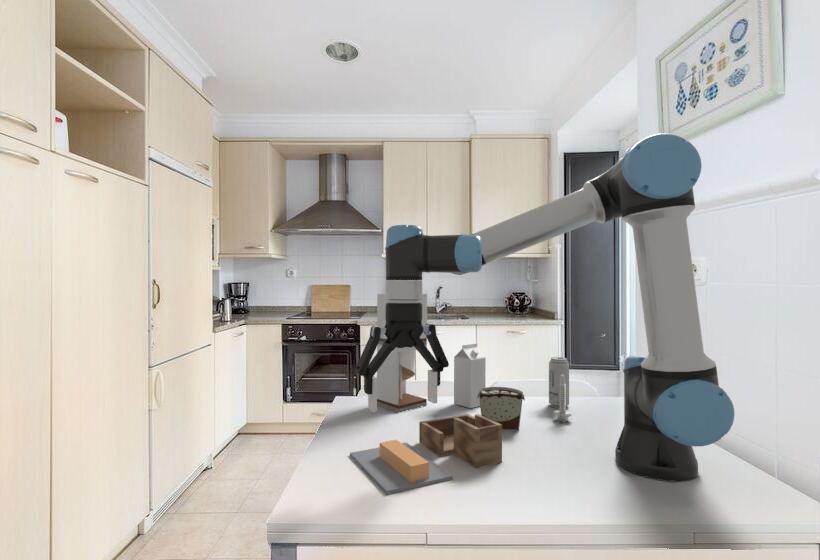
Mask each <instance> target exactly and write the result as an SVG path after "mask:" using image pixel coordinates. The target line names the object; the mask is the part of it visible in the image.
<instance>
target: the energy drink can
mask: <svg viewBox="0 0 820 560" xmlns="http://www.w3.org/2000/svg"><path fill="white" fill-rule="evenodd" d="M562 374H563V375H565V384H566V407H567V408H568V406H569V405H570V363H569V361H568V358H566V357H563V356H554V357H553V356H552V357H550V360H549V362H548V403H549V404H550V407H552V408H554V407H556V408H555V409H560V402H559V401H560V400H559V399H560V398H559V397H560V396H559V395H560V377H561V375H562Z"/></svg>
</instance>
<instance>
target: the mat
mask: <svg viewBox="0 0 820 560" xmlns="http://www.w3.org/2000/svg"><path fill="white" fill-rule="evenodd" d="M401 443H402V442H401ZM402 444H403V445H405V446H406V447H408V448H409V449H410V450H412V451H413V452H415V453H416V454H418V455H419V456H421V457H422V458H424V459H425V460H427V461H428V462H429V478H427V479H423V480H419V481H415V482H410V481H409V480H408V479H406V478H405V477H404V476H403V475H401V474H400V473H399V472H398V471H397V470H395V469H394V468H393V467H392V466H390V465H389V464H388V463H387V462H386V461H384V460H383V459H382V458H381V457H380V446H379V447H375V448H369V449H362V450H358V451H353V452H350V453H349V457H351V458H352V459H353V460H354V461H355V463H356V464H358V466H359V467H360V468H361V469H362V470H363V471H364V472H365V473H366V474H367V475H368V476H369V477H370V478H371V479H372V480H373V482H374V483H375V484H376V485H377V486H378V487H379V488H380V489H381V491H383V492H384V493H385V494H386V495H391V494H394V493H398V492H399V493H400V492H403V491H408V490H411V489H416V488H421V487H424V486H428V485H429V486H430V485H432V484H437V483H441V482H444V481H445V482H446V481H449V480H453V475H451V473H449V472H448V471H446V470H445V469H444V468H442V467H441V466H439V465H438V464H437V463H435V462H434V461H433V460H432V459H430V458H429V457H427V456H426V455H424V454H423V453H422V452H420V450H419V451H418V450H417V449H416V448H415V447H413V445H410V444H409V443H407V442H403V443H402Z"/></svg>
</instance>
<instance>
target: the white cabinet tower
mask: <svg viewBox="0 0 820 560" xmlns="http://www.w3.org/2000/svg"><path fill="white" fill-rule="evenodd" d="M376 297H377V303H376V305H377V308H376V309H377V310H376V312H377V313H376V316H377V317H376V319H377V320H376V321H377V322H376V323H377V324H376V327H381V328H384V327H385V325H386V319H385V313H386V304H387V303H389V300H387V299H386V293H377V295H376ZM427 298H428V294H427V293H422V300H419V303H421V304H422V321H421V323H422V326H424V325H426V324H428V299H427ZM386 339H387V337H386V335H385V334H383V335H382V337H381V338H380V340H379V343H378V345H377V347H376V354H377V353H378V351H379V350H380V349H381V347H382V345H383V343H384V342H385V340H386ZM420 339H421V340H422V341H423V342H424V344H425V346H426V347H427V348H428V345H427V344H428V339H427V337H426V335H425V334H424V332H423V333H422V334H421V336H420ZM416 351H418V350H417V349H416V348H415V347H414V346H413V347H410V348H409V347H404V348H397V347H396V348H395V349H394V350H393V351H391V353H390V354H389V355H388V357H387V358H386V360H385V361H384V362H383V364H382V365H381V366H380V368H379V369H378V370H377V372H376V378H377V407H381V408H383V407H384V409H386V408H387V410H389V409H390V411H392V410H394V411H393V412H395V411H396V413H398V412H400V413H403V412H402V411H404V412H407V411H406V410H408V411H411V410H410V409H412V410H414V408H415V409H419V408H422V407H421V406H423V407H426V405H427V404H428V403H427V402H428V398H424V397H421V396H418V395H414V394H410V393H407V380H409V379H411V378H413V377H414V376H415V375H416ZM418 407H419V408H418Z"/></svg>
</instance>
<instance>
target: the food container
mask: <svg viewBox="0 0 820 560" xmlns="http://www.w3.org/2000/svg"><path fill="white" fill-rule="evenodd" d="M478 397H479V398H480V406H479V407H480V408H479V409H480V415H482V416H484V417H486V418H488V419H491V420H493V421H495V422H497V423H499V424H502V431H512V432H513V431H515V432H520V425H521V424H520V423H521V416H522V407H523V401H526V398H525V395H524V392H523V391H522V390H520V389H517V388H512V387H506V386H489V387H488V386H487V387H486V386H485V388H482V389H480V390H479V392H478V396H477V399H478Z"/></svg>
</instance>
